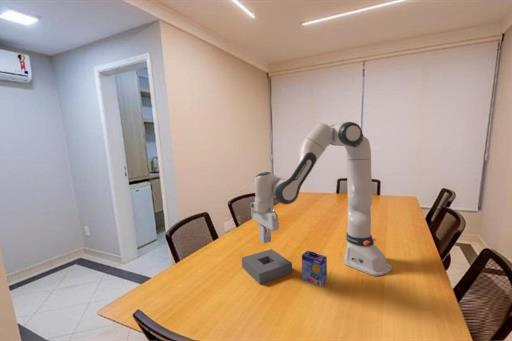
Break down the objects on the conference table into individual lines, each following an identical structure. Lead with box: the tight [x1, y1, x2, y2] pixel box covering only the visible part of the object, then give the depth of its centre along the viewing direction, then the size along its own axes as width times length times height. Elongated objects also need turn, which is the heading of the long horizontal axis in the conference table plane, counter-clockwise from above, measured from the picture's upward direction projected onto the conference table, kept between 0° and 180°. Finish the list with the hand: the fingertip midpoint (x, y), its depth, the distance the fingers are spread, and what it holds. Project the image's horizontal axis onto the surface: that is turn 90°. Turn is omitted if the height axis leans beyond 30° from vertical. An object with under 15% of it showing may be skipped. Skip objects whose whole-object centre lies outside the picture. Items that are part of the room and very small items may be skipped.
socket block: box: [241, 248, 293, 285], centre depth 121 cm, size 18×18×5 cm
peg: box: [258, 224, 272, 244], centre depth 119 cm, size 4×4×8 cm
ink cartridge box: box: [301, 250, 328, 288], centre depth 110 cm, size 10×6×14 cm, turn 51°
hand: (265, 233), depth 119 cm, fingers closed on peg, 4 cm apart
